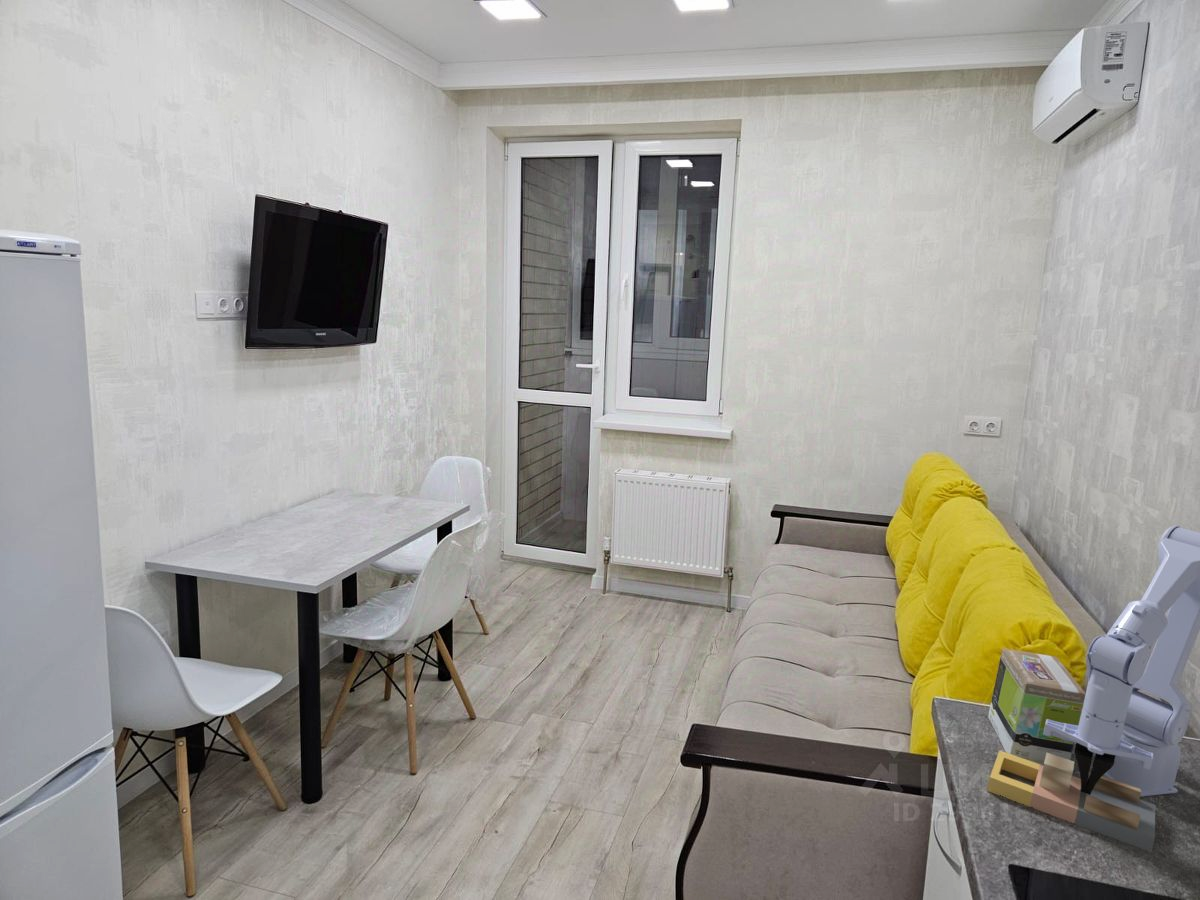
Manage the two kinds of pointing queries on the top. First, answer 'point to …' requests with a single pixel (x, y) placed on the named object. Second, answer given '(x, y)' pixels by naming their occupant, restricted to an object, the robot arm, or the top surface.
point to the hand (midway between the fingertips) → (1085, 790)
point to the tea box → (1033, 704)
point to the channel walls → (1112, 810)
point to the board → (1069, 801)
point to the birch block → (1057, 773)
